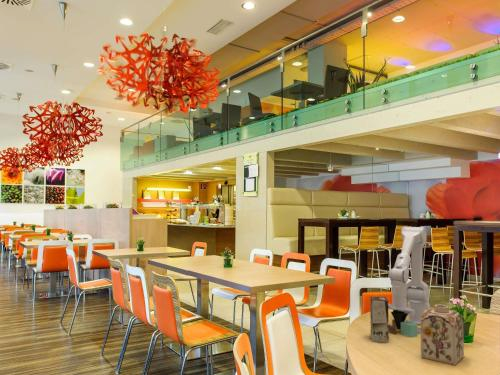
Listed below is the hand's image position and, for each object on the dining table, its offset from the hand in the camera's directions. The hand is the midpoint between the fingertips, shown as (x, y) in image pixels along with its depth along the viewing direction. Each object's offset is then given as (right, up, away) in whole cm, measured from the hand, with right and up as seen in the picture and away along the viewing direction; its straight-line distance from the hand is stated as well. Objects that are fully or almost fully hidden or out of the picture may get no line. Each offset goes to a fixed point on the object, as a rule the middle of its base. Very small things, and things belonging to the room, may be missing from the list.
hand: (399, 328), depth 181 cm
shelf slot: (-2, -2, +3) cm, 3 cm away
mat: (+8, -2, +2) cm, 9 cm away
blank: (+2, -1, -4) cm, 5 cm away
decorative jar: (+4, 0, -30) cm, 31 cm away
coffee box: (-11, -1, -9) cm, 15 cm away
